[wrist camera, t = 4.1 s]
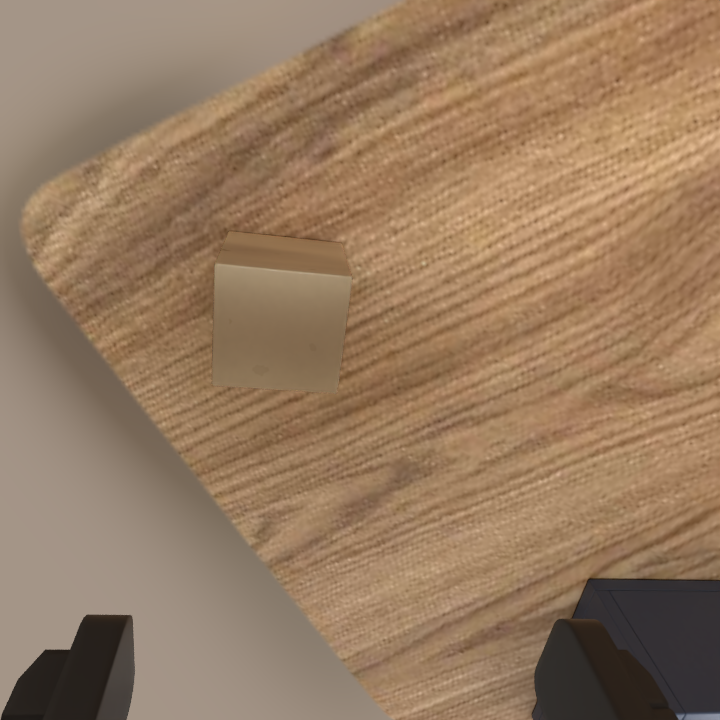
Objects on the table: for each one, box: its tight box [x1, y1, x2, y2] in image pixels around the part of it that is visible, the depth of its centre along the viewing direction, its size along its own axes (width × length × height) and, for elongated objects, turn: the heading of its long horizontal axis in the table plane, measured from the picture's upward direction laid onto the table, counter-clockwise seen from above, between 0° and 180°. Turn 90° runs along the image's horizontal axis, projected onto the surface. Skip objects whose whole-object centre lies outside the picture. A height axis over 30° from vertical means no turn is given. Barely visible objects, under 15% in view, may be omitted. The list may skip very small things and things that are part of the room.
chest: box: [532, 579, 720, 720], centre depth 32 cm, size 13×11×8 cm
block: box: [212, 231, 353, 394], centre depth 21 cm, size 4×4×4 cm
